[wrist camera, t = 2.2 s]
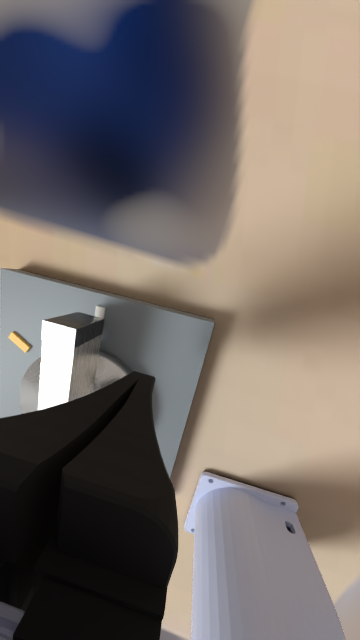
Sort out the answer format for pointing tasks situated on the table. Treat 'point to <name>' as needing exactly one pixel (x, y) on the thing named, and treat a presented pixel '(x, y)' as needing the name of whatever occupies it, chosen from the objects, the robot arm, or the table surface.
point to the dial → (69, 363)
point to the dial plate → (106, 344)
